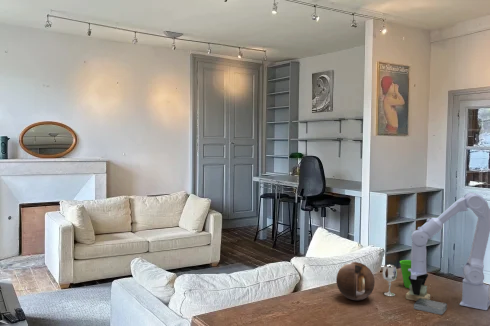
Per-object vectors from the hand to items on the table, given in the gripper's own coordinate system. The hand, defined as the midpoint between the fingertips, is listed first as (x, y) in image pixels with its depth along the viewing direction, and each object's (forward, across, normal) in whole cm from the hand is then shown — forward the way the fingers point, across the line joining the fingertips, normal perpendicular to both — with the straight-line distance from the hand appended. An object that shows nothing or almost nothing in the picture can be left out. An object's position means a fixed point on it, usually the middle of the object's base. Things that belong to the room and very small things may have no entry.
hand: (418, 292), depth 175 cm
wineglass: (+3, +2, -11) cm, 11 cm away
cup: (+2, -14, -7) cm, 16 cm away
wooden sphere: (+3, +17, -20) cm, 26 cm away
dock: (+2, +9, +7) cm, 12 cm away
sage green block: (+2, 0, 0) cm, 2 cm away
